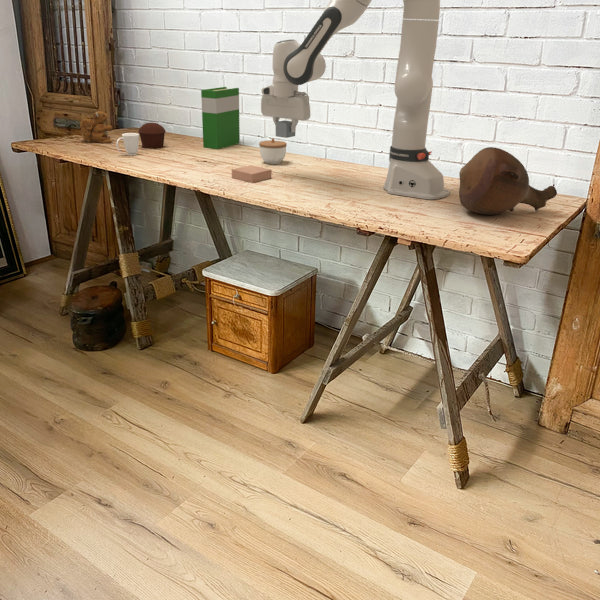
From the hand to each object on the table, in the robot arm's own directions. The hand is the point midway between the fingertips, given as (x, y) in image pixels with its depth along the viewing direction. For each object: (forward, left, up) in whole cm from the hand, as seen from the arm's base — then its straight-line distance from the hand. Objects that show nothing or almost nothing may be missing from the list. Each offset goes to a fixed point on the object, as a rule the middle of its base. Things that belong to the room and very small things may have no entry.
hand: (285, 131), depth 221 cm
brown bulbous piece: (-79, -8, -16) cm, 81 cm away
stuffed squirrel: (+102, +10, -16) cm, 103 cm away
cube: (0, 0, -2) cm, 2 cm away
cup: (+68, +18, -16) cm, 72 cm away
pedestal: (+5, +12, -16) cm, 20 cm away
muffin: (+75, 0, -16) cm, 77 cm away
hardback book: (+57, -24, -16) cm, 64 cm away
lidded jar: (+17, -13, -16) cm, 27 cm away
